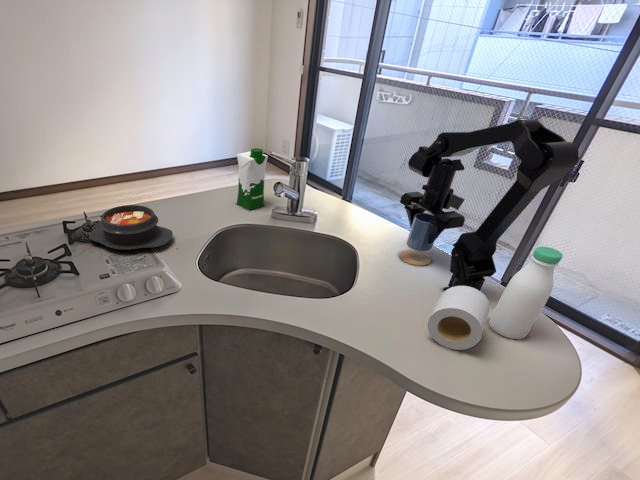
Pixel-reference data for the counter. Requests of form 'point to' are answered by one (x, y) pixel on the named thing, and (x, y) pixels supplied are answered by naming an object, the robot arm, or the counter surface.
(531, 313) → the milk bottle
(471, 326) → the toilet paper
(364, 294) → the counter surface
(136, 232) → the casserole
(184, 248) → the counter surface
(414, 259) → the coaster
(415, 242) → the blue ceramic cup
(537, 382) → the counter surface
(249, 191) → the milk carton
